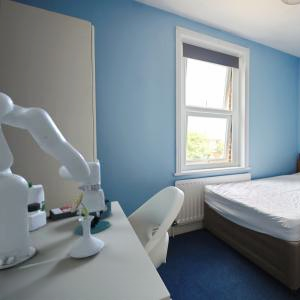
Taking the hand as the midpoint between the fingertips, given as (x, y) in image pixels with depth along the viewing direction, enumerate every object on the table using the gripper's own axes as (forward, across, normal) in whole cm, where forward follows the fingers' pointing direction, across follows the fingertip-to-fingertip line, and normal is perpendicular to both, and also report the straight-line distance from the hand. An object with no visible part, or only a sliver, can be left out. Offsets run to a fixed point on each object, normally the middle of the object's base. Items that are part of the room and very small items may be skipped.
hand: (93, 224), depth 101 cm
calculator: (+2, -12, +28) cm, 31 cm away
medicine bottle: (+2, -25, +17) cm, 30 cm away
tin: (+2, +2, +16) cm, 16 cm away
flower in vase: (+2, -2, -24) cm, 24 cm away
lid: (+2, 0, 0) cm, 2 cm away
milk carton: (+2, -27, +30) cm, 40 cm away
